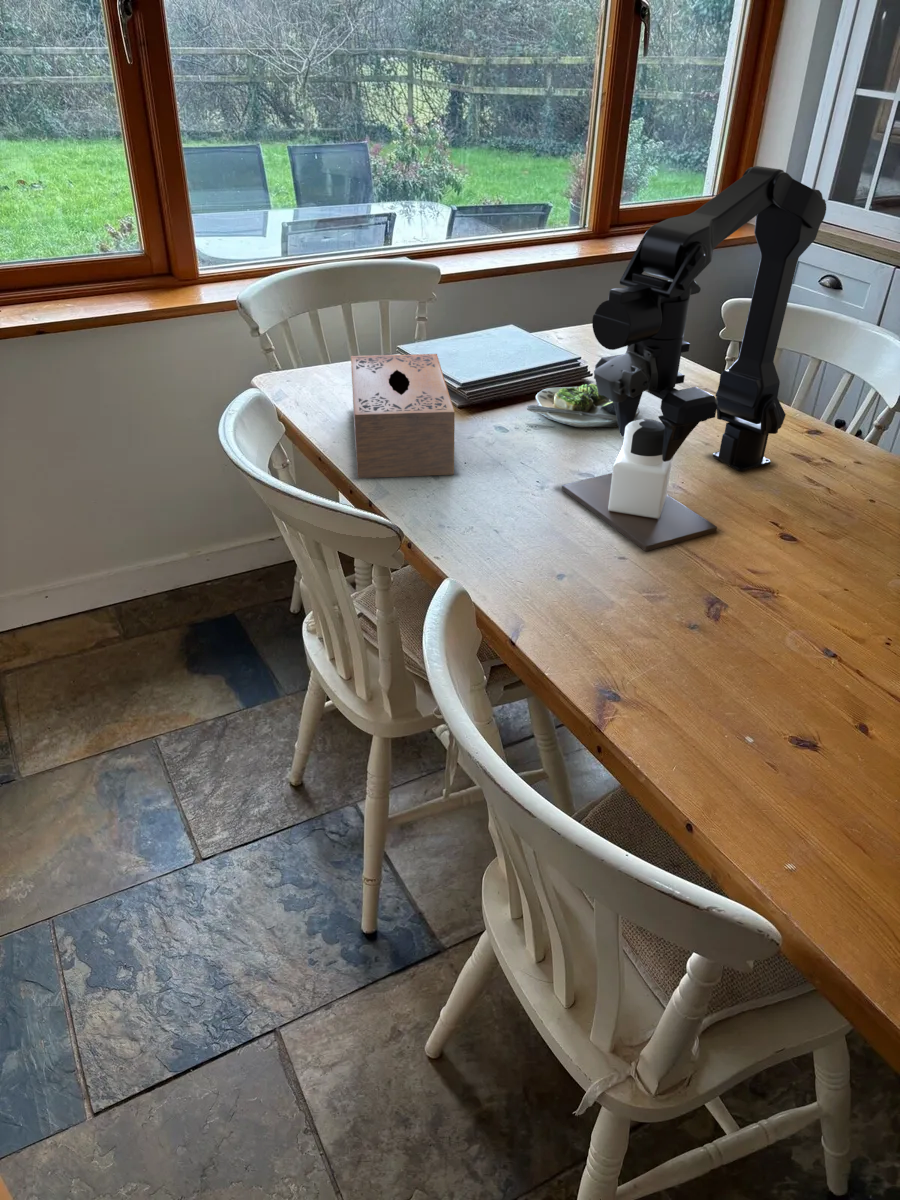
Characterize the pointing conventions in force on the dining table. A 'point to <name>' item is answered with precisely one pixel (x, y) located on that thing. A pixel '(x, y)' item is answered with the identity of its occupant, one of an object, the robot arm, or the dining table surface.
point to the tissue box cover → (402, 416)
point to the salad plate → (576, 406)
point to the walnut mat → (640, 530)
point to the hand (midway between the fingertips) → (644, 447)
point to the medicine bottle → (640, 471)
